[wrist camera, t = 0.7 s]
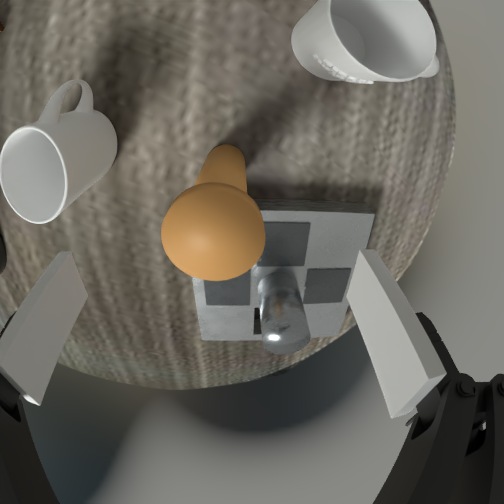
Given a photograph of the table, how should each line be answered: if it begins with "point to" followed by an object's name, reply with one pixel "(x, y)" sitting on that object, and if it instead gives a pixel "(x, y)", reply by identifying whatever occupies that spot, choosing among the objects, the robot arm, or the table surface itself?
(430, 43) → the mug
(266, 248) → the checkered knob plate
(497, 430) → the robot arm
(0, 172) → the mug
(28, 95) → the table surface
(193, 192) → the tan wooden pestle
